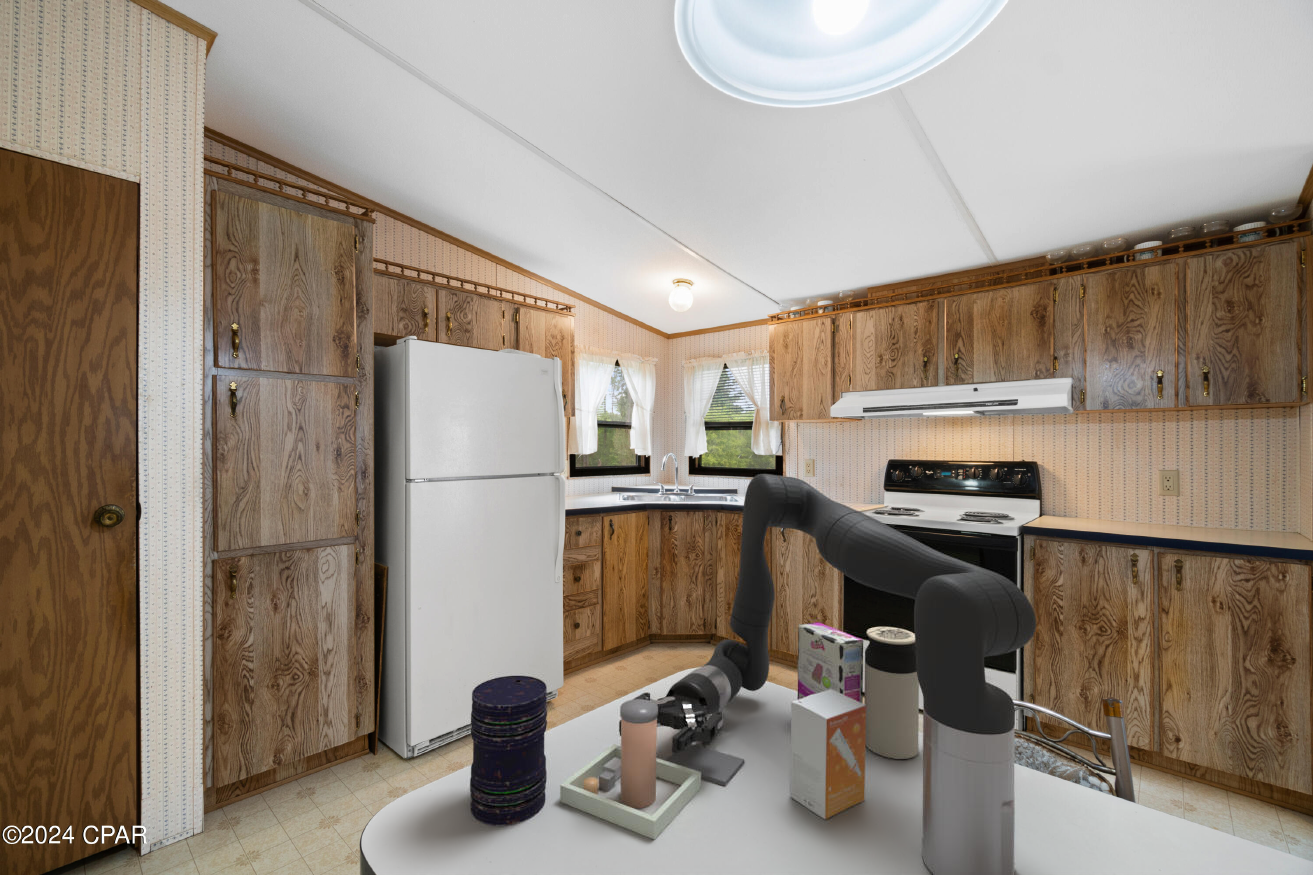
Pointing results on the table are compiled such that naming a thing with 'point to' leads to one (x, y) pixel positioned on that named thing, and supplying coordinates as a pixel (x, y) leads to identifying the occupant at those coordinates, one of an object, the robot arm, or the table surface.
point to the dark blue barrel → (508, 750)
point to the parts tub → (585, 797)
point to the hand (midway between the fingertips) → (647, 737)
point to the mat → (708, 763)
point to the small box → (827, 752)
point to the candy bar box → (829, 661)
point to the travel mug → (891, 693)
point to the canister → (638, 752)
